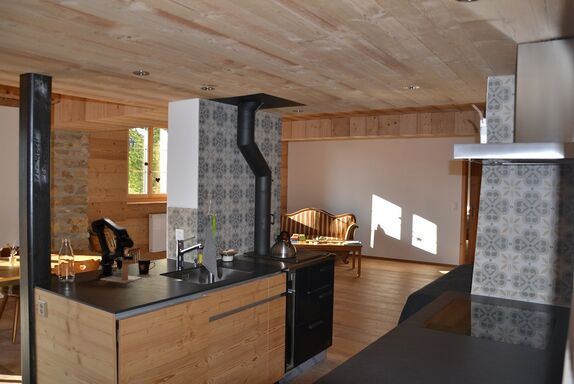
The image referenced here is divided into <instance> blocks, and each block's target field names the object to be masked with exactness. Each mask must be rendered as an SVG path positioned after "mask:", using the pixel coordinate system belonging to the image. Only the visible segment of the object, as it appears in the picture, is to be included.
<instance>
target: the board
mask: <svg viewBox="0 0 574 384" xmlns="http://www.w3.org/2000/svg"><path fill="white" fill-rule="evenodd" d="M112 273H113V274H112V276H107V277H103V278H100V281H107V282H112V283H113V282H114V283H121V284H127V283H130V282H133V281H134V282H135V281H136V280H141V279H143V277H140V276H133V275H128V280H127V281H122V273H116V271H114V272H112Z"/></svg>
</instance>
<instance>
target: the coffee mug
mask: <svg viewBox="0 0 574 384" xmlns="http://www.w3.org/2000/svg"><path fill="white" fill-rule="evenodd" d="M152 263H153V264H154V265H153V266H152V267H151V266H150V265H151V264H152ZM137 265H138V275H142V276H144V275H149V273H150V270H152V269H153V268H154V267H155V266H156V262H155V261H151V259H150V258H138V259H137ZM150 267H151V268H150Z"/></svg>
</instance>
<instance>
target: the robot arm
mask: <svg viewBox="0 0 574 384" xmlns="http://www.w3.org/2000/svg"><path fill="white" fill-rule="evenodd" d="M90 227H91V230H92V231H93V232H94V233H95V234H96V236H97V239H98V243H99V246H100V250H101V252H102V253H101V257H100V258H101V259H100V261H99V262H98V265H99V267H101V269H100V271H101V273H99V275H101V276H102V275H103V276H109V275H113V273H114V272H113V267H112V266H113V265H115V263H116V267H117V269H119V270H121V269H122V260H129V262H130V261H134V259H135V257H134V256H133V255H130V254H129V255H127V253H126V252H125V251H126V250H127V249H132V248H133V247H134V246H135V245H134V240H133V239H132V237H131V236H130V235H129V233H128V230H127V229H126V228H125V227H122V226H120V225H119V226H118V224H116V223H115V222H113V221H112V220H110V218H109V217H102V218H100V219H97V220H93V221H92V222H91V224H90ZM106 227H107V228H108V229H109V230H110V231H111V232H112V234H113V235H114V236H115V238H113V240H115V248H114V250H111V249H110V247H109V243H108V241H107V237H106V234H105V229H106Z"/></svg>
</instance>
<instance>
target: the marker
mask: <svg viewBox="0 0 574 384" xmlns="http://www.w3.org/2000/svg"><path fill="white" fill-rule="evenodd" d="M129 264H130V261H129V260H122V268H121V269H122V281H127V280H128V276H129Z"/></svg>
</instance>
